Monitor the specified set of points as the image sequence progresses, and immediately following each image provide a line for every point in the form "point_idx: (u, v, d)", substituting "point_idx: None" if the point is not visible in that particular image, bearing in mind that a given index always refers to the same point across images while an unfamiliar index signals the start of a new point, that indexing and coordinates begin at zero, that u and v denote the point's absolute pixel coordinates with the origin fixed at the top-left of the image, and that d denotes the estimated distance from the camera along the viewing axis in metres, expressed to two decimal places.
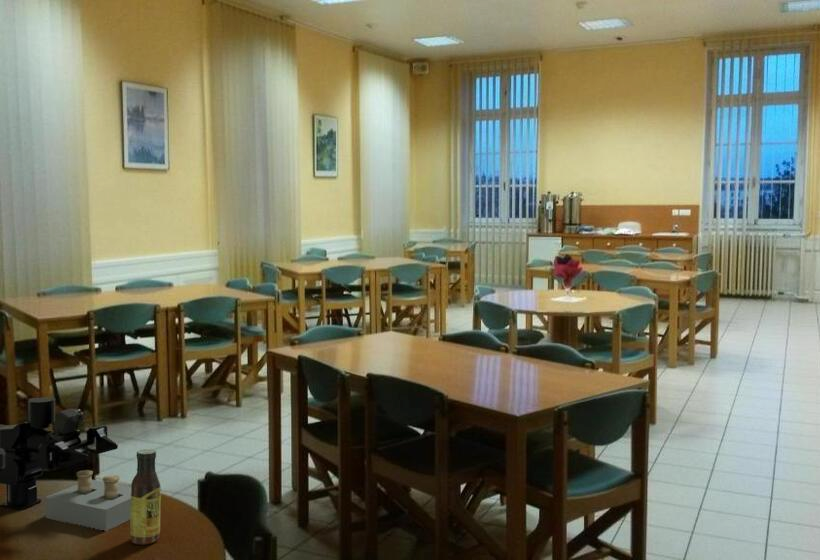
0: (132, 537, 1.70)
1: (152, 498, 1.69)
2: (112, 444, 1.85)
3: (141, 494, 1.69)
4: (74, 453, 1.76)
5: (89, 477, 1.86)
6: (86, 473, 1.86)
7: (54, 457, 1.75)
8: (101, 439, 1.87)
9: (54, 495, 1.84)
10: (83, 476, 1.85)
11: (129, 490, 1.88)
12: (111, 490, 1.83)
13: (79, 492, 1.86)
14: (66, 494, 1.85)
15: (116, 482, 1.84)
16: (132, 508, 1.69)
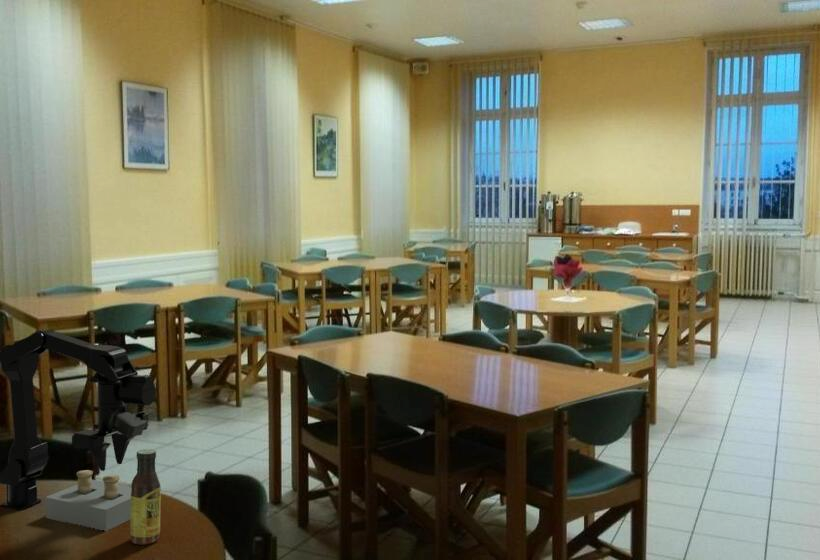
0: (132, 537, 1.70)
1: (152, 498, 1.69)
2: (120, 459, 1.86)
3: (141, 494, 1.69)
4: (101, 460, 1.80)
5: (89, 477, 1.86)
6: (86, 473, 1.86)
7: None
8: (123, 443, 1.86)
9: (54, 495, 1.84)
10: (83, 476, 1.85)
11: (129, 490, 1.88)
12: (111, 490, 1.83)
13: (79, 492, 1.86)
14: (66, 494, 1.85)
15: (116, 482, 1.84)
16: (132, 508, 1.69)
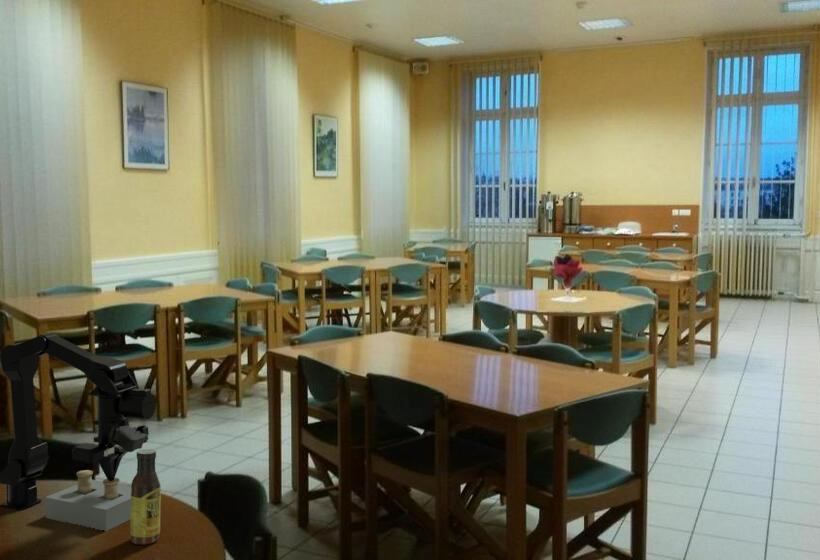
0: (132, 537, 1.70)
1: (152, 498, 1.69)
2: None
3: (141, 494, 1.69)
4: (109, 470, 1.82)
5: (89, 477, 1.86)
6: (86, 473, 1.86)
7: None
8: (115, 459, 1.84)
9: (54, 495, 1.84)
10: (83, 476, 1.85)
11: (129, 490, 1.88)
12: (111, 493, 1.83)
13: (79, 492, 1.86)
14: (66, 494, 1.85)
15: (116, 485, 1.84)
16: (132, 508, 1.69)
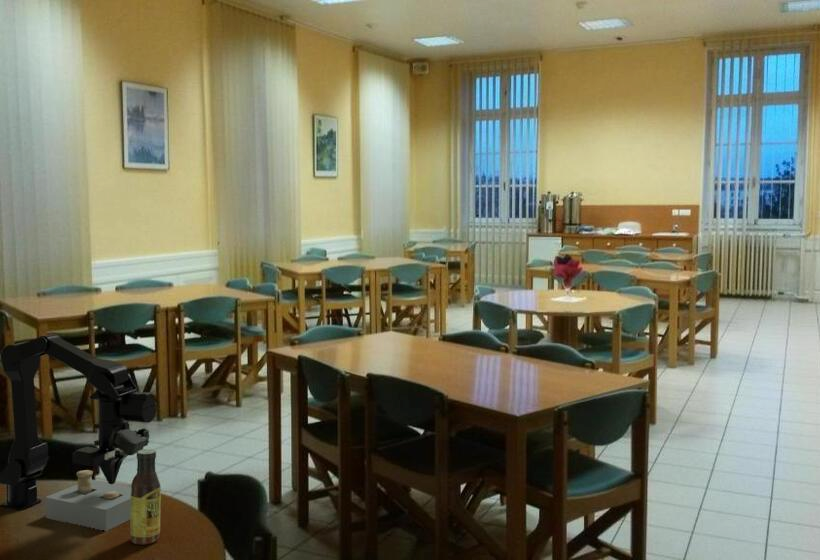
0: (132, 537, 1.70)
1: (152, 498, 1.69)
2: None
3: (141, 494, 1.69)
4: (110, 473, 1.82)
5: (89, 477, 1.86)
6: (86, 473, 1.86)
7: None
8: (116, 463, 1.84)
9: (54, 495, 1.84)
10: (83, 476, 1.85)
11: (129, 490, 1.88)
12: None
13: (79, 492, 1.86)
14: (66, 494, 1.85)
15: None
16: (132, 508, 1.69)
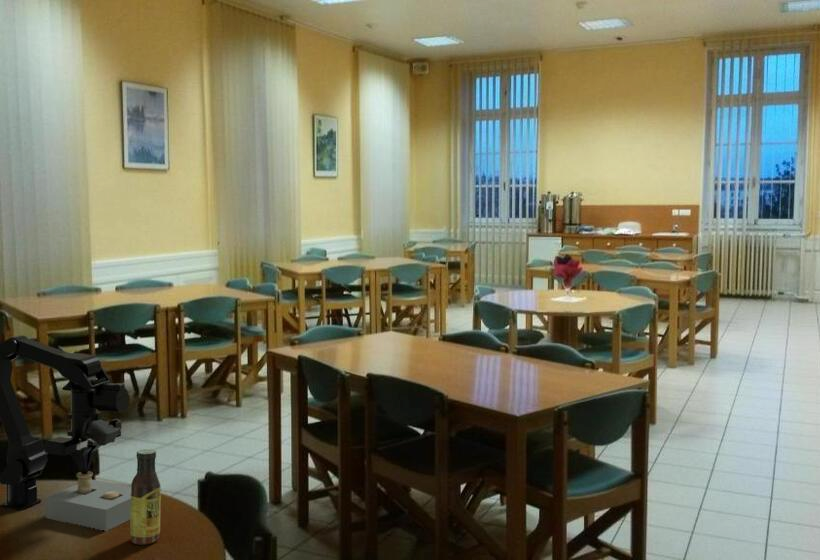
0: (132, 537, 1.70)
1: (152, 498, 1.69)
2: None
3: (141, 494, 1.69)
4: (83, 463, 1.85)
5: (89, 478, 1.86)
6: (86, 474, 1.86)
7: None
8: (89, 453, 1.86)
9: (54, 495, 1.84)
10: (83, 477, 1.85)
11: (129, 490, 1.88)
12: None
13: (79, 493, 1.86)
14: (66, 494, 1.85)
15: None
16: (132, 508, 1.69)
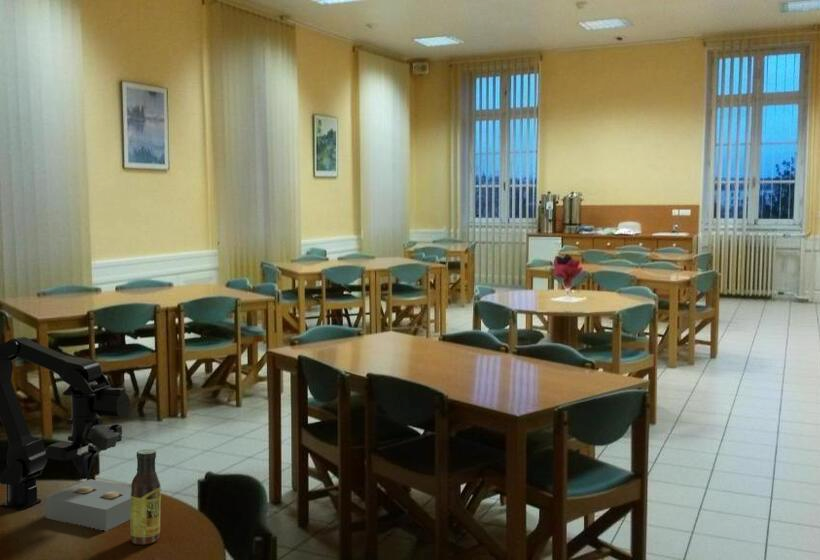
0: (132, 537, 1.70)
1: (152, 498, 1.69)
2: None
3: (141, 494, 1.69)
4: (83, 468, 1.85)
5: None
6: (86, 489, 1.87)
7: None
8: (89, 458, 1.87)
9: (54, 495, 1.84)
10: (83, 493, 1.85)
11: (129, 490, 1.88)
12: None
13: None
14: (66, 494, 1.85)
15: None
16: (132, 508, 1.69)
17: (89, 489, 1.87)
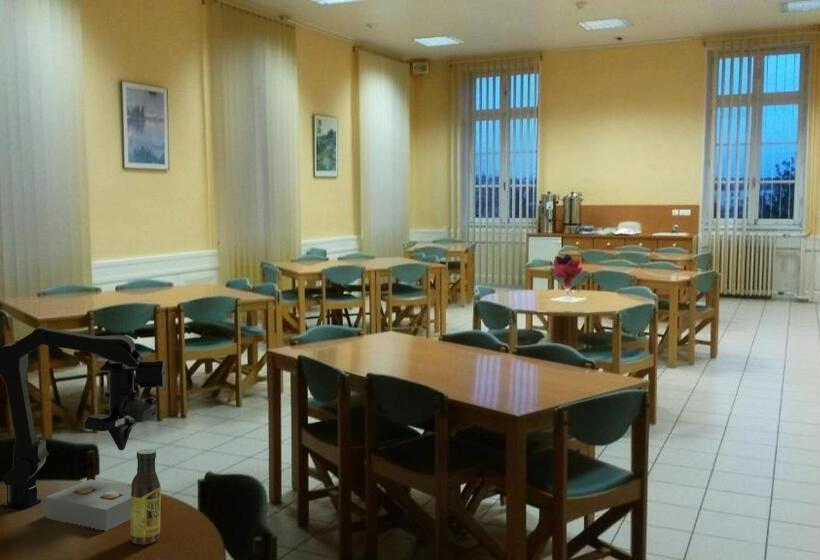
0: (132, 537, 1.70)
1: (152, 498, 1.69)
2: None
3: (141, 494, 1.69)
4: (120, 440, 1.92)
5: None
6: (86, 489, 1.87)
7: None
8: (125, 430, 1.93)
9: (54, 495, 1.84)
10: (83, 493, 1.85)
11: (129, 490, 1.88)
12: None
13: None
14: (66, 494, 1.85)
15: None
16: (132, 508, 1.69)
17: (89, 489, 1.87)
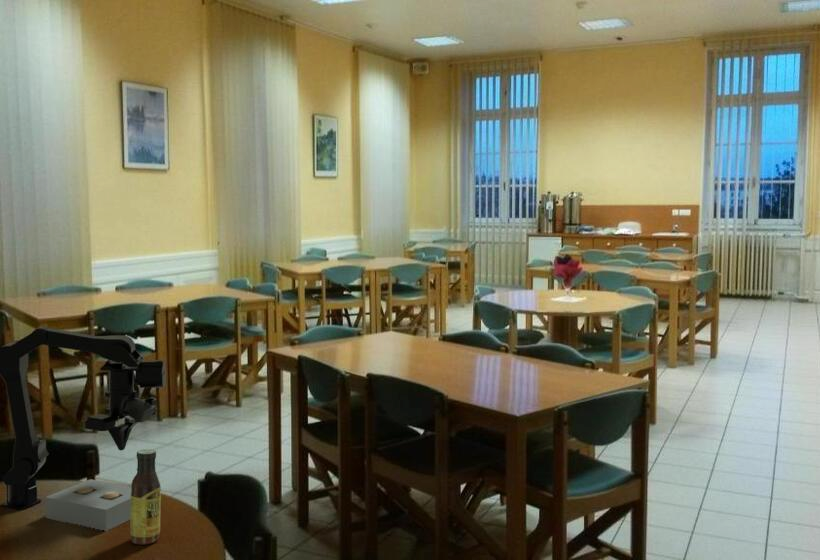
0: (132, 537, 1.70)
1: (152, 498, 1.69)
2: None
3: (141, 494, 1.69)
4: (120, 440, 1.92)
5: None
6: (86, 489, 1.87)
7: None
8: (126, 430, 1.93)
9: (54, 495, 1.84)
10: (83, 493, 1.85)
11: (129, 490, 1.88)
12: None
13: None
14: (66, 494, 1.85)
15: None
16: (132, 508, 1.69)
17: (89, 489, 1.87)
